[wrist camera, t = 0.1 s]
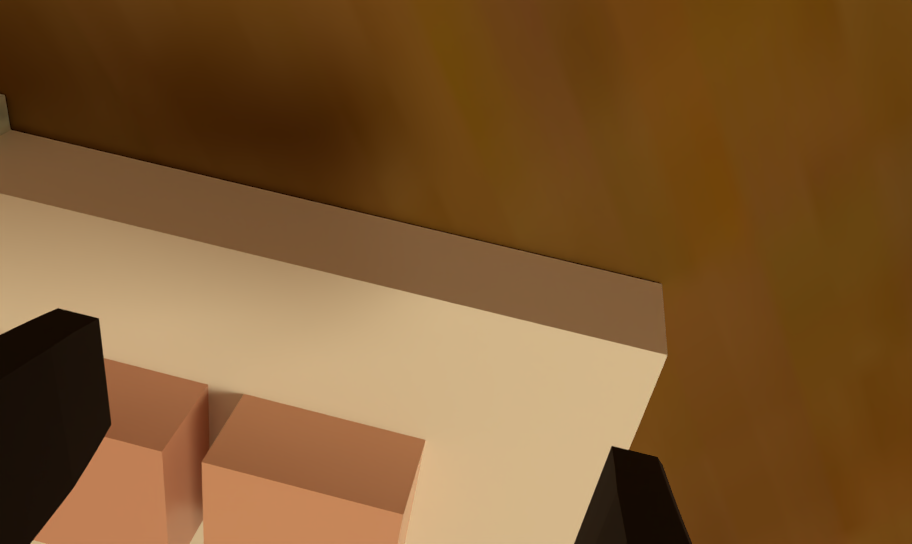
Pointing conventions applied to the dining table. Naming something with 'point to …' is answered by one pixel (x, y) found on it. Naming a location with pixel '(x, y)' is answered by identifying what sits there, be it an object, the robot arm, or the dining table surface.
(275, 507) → the tile
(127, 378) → the tile
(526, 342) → the board
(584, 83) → the dining table surface
